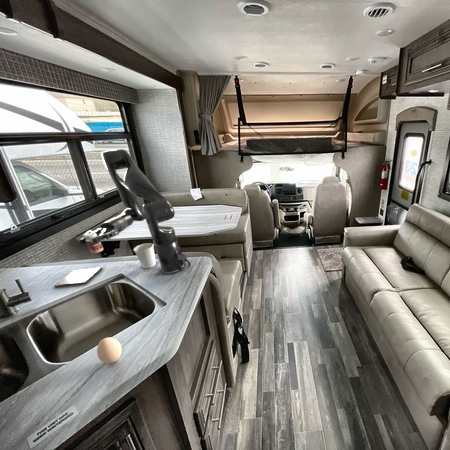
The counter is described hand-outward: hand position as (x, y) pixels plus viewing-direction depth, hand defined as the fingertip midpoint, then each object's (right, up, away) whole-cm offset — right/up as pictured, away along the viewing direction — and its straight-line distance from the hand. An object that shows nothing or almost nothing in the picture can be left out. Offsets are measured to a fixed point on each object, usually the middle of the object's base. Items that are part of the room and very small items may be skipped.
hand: (87, 241), depth 105 cm
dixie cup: (+18, -13, +14) cm, 26 cm away
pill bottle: (0, -5, +5) cm, 7 cm away
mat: (-8, -17, +6) cm, 20 cm away
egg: (+39, -32, -35) cm, 61 cm away
